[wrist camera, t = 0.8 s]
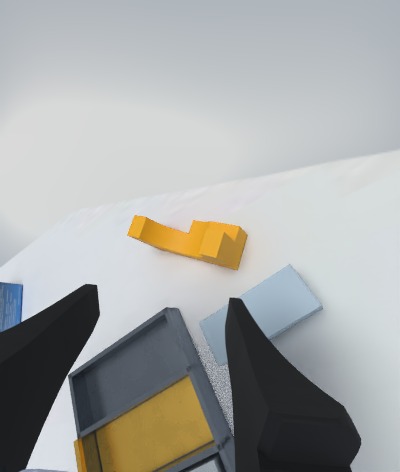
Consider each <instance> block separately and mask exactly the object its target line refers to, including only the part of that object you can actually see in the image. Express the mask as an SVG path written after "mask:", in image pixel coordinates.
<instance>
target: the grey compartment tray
mask: <svg viewBox="0 0 400 472" xmlns="http://www.w3.org/2000/svg"><path fill="white" fill-rule="evenodd" d="M68 378H69V385H70V391H71V398H72V404H73V411H74V417H75V424H76V431H77V437H78V439H77V440H76V441H74V447H75V454H76V461H77V468H78V472H235V445H234V438H233V436H232V433H231V431H230V429H229V426H228V424H227V422H226V419H225V417H224V415H223V412H222V410H221V407H220V405H219V403H218V400H217V398H216V396H215V393H214V391H213V389H212V386H211V384H210V382H209V379H208V377H207V375H206V372H205V370H204V368H203V365H202V363H201V361H200V358H199V356H198V354H197V351H196V349H195V347H194V344H193V342H192V340H191V337H190V335H189V333H188V330H187V328H186V326H185V323H184V321H183V319H182V316H181V314H180V312H179V309H178V308H168V307H166V308H165V309H163V310H162V311H160V312H159V313H157V314H156V315H154V316H153V317H152V318H150V319H149V320H147V321H146V322H144V323H143V324H141V325H140V326H139V327H137V328H136V329H134V330H133V331H131V332H130V333H128V334H127V335H125V336H124V337H123V338H121V339H120V340H118V341H117V342H115V343H114V344H112V345H111V346H110V347H108V348H107V349H105V350H104V351H102V352H101V353H99V354H98V355H97V356H95V357H94V358H92V359H91V360H89V361H88V362H86V363H85V364H83V365H82V366H81V367H79V368H78V369H76V370H75V371H73V372H72V373H70V374H69V375H68Z"/></svg>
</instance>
